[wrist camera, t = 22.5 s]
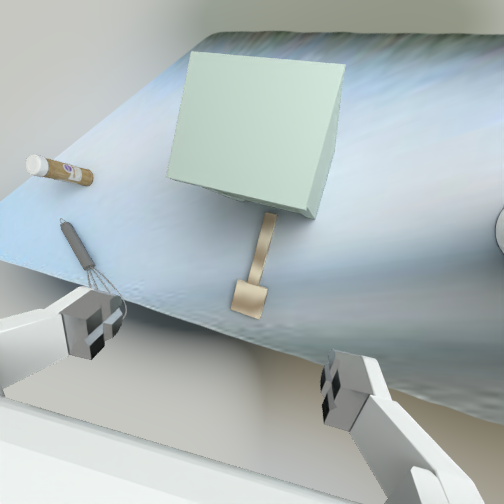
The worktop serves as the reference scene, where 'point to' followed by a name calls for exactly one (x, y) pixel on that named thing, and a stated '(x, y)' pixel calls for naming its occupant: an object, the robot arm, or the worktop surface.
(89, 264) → the kitchen whisk
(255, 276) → the turner
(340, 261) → the worktop surface
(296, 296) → the worktop surface
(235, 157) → the shelf
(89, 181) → the sprinkles bottle
